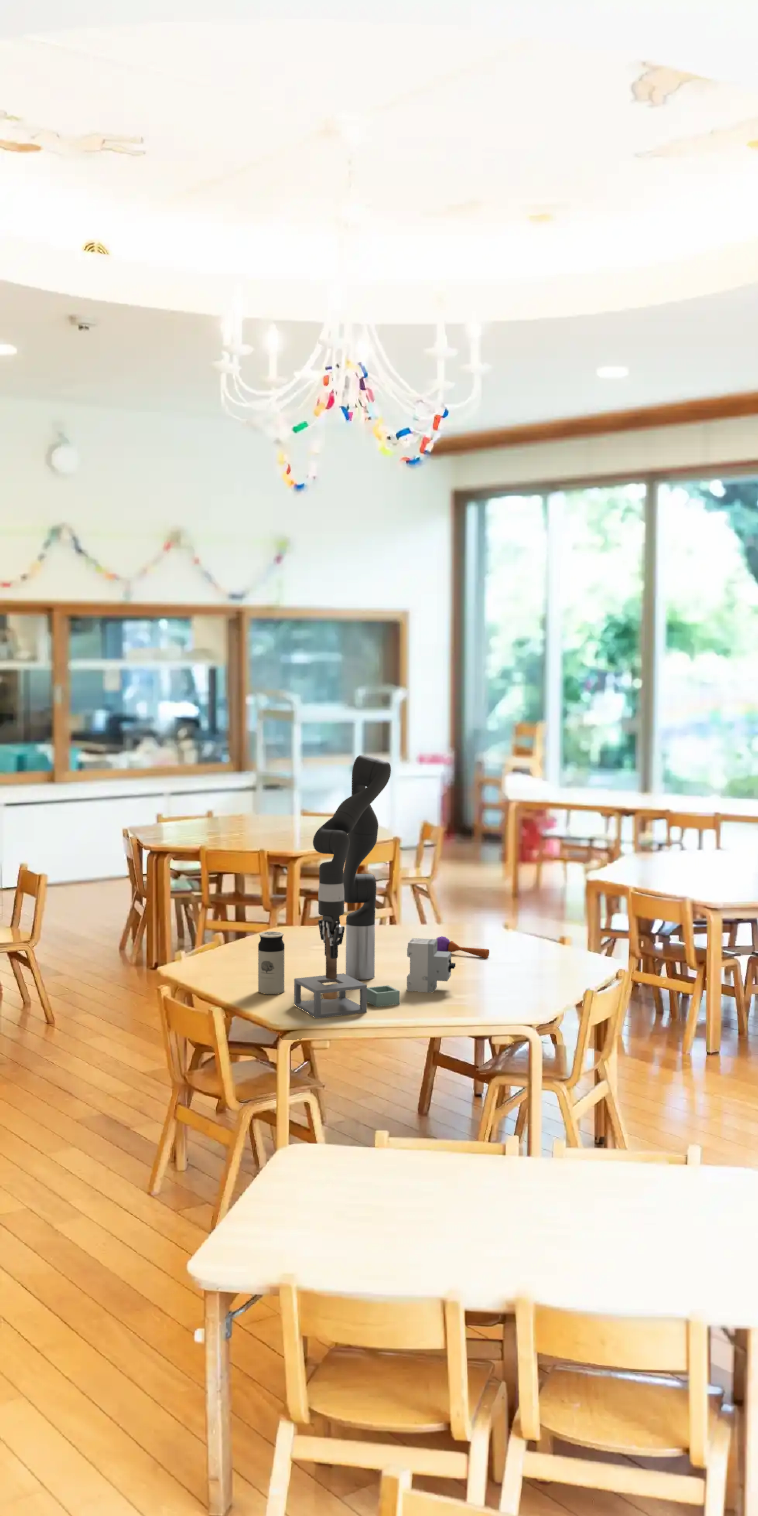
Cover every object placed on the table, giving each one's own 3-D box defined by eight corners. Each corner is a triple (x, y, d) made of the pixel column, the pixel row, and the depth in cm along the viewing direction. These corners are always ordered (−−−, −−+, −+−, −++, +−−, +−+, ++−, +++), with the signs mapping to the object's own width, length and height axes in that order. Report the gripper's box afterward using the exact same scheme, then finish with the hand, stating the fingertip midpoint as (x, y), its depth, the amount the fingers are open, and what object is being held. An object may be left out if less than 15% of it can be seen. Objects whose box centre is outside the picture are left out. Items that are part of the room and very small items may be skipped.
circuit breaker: (452, 993, 415) (453, 945, 414) (406, 991, 418) (407, 942, 417) (456, 987, 423) (456, 940, 422) (411, 985, 426) (411, 938, 425)
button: (320, 996, 397) (320, 986, 397) (333, 995, 399) (333, 985, 399) (326, 1000, 393) (326, 989, 393) (340, 998, 395) (340, 988, 395)
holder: (365, 1001, 406) (365, 987, 406) (388, 998, 409) (388, 985, 409) (376, 1006, 399) (376, 993, 399) (399, 1004, 402) (399, 990, 402)
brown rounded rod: (324, 977, 396) (324, 929, 396) (334, 976, 398) (334, 928, 397) (328, 979, 394) (328, 931, 393) (338, 978, 395) (338, 930, 394)
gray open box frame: (294, 1005, 400) (294, 978, 400) (343, 999, 407) (343, 973, 407) (316, 1018, 386) (316, 990, 385) (366, 1012, 393) (367, 985, 392)
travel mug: (268, 987, 422) (268, 930, 420) (289, 990, 418) (289, 932, 416) (253, 992, 415) (253, 934, 414) (274, 996, 411) (274, 937, 410)
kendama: (484, 949, 462) (430, 938, 470) (483, 965, 463) (430, 954, 472) (490, 942, 467) (437, 932, 476) (490, 958, 468) (437, 948, 477)
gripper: (353, 901, 390) (353, 960, 391) (332, 893, 402) (332, 951, 403) (329, 903, 386) (329, 963, 387) (309, 895, 399) (309, 953, 400)
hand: (331, 956), depth 395 cm, fingers closed on brown rounded rod, 3 cm apart
